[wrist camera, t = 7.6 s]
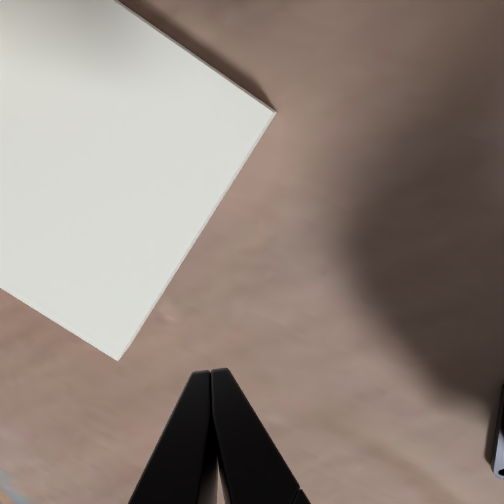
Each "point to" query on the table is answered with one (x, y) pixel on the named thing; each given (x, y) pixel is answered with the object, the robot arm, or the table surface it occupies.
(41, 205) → the white board
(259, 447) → the robot arm
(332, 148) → the table surface
